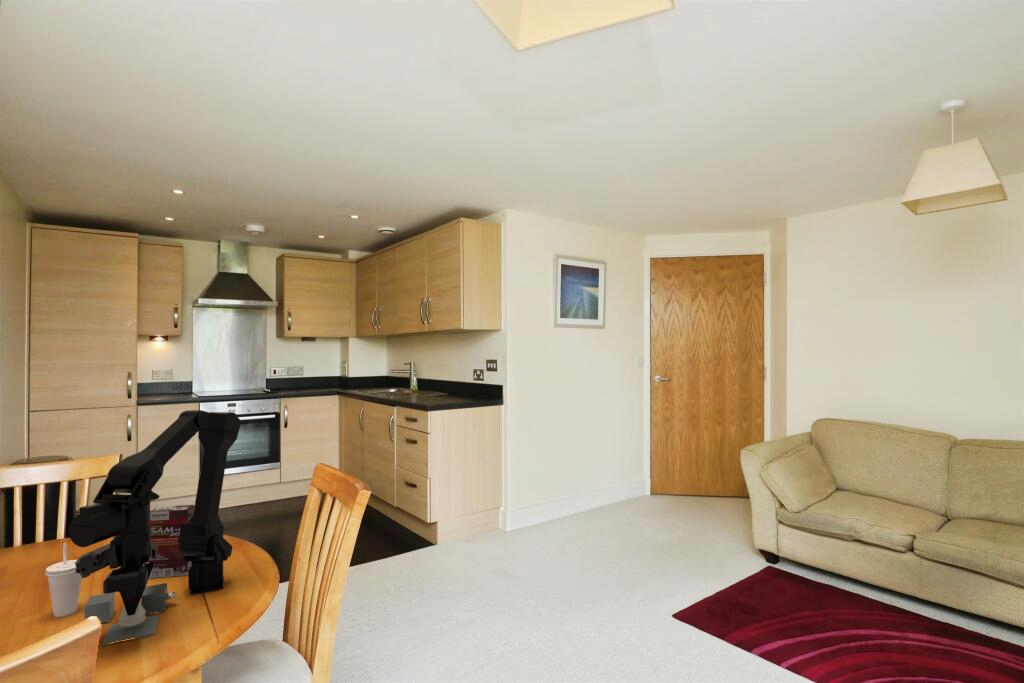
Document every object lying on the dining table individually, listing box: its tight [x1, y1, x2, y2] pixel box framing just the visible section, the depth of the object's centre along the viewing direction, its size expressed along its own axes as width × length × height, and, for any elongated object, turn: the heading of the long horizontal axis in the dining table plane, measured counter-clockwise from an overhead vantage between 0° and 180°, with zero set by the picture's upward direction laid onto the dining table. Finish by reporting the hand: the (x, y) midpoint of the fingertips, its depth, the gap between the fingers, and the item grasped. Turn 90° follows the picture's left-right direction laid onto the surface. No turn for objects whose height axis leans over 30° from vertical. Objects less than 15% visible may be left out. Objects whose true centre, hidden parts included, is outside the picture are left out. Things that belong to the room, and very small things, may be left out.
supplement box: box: [148, 504, 195, 579], centre depth 132 cm, size 9×5×16 cm, turn 101°
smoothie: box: [44, 542, 83, 618], centre depth 112 cm, size 6×6×14 cm
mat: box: [101, 614, 161, 647], centre depth 104 cm, size 8×8×1 cm
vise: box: [84, 582, 176, 624], centre depth 112 cm, size 15×5×4 cm, turn 117°
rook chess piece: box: [118, 600, 147, 628], centre depth 104 cm, size 4×4×8 cm
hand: (132, 610), depth 104 cm, fingers closed on rook chess piece, 3 cm apart
